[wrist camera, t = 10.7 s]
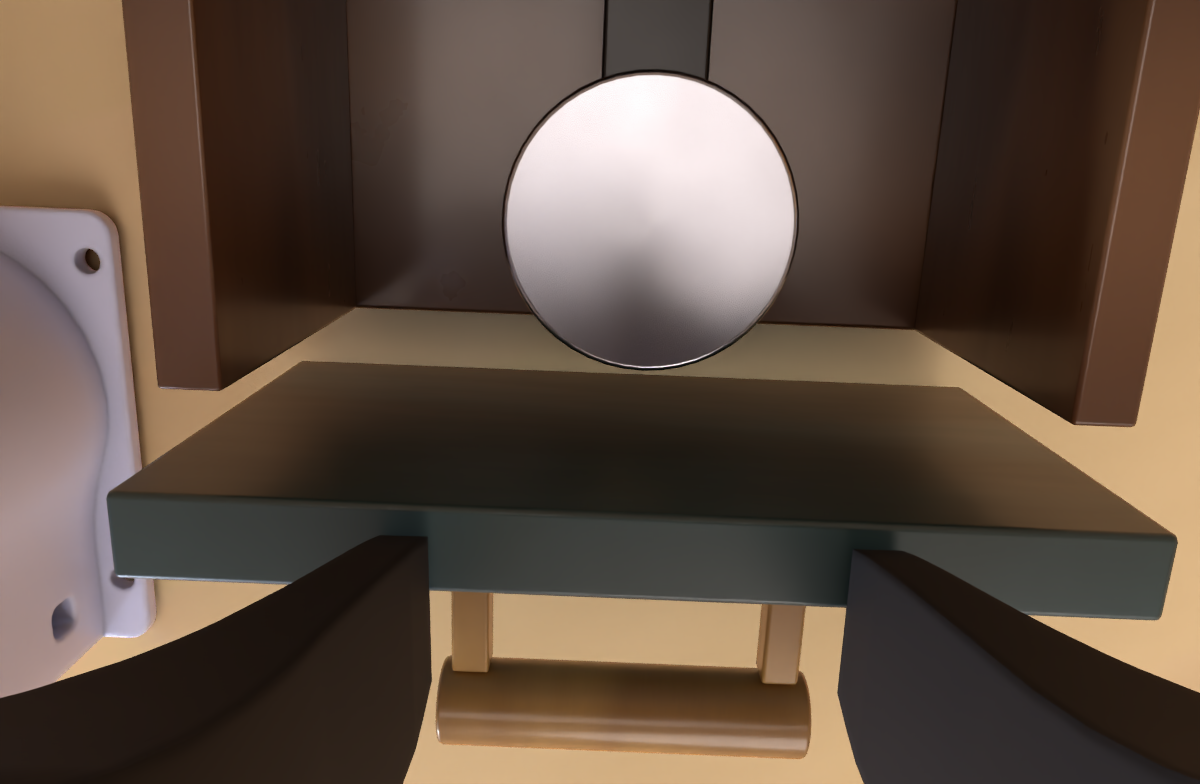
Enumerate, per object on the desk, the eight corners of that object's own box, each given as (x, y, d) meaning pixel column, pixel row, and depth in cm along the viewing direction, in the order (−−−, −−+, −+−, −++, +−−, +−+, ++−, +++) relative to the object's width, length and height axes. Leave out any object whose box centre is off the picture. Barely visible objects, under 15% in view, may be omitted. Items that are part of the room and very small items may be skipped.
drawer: (926, 621, 20) (1104, 888, 12) (312, 596, 20) (142, 847, 13) (1077, -400, 15) (1507, -909, 8) (259, -431, 15) (-64, -963, 8)
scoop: (735, 311, 17) (785, 377, 12) (531, 303, 17) (499, 366, 12) (765, -57, 15) (836, -153, 10) (539, -65, 15) (503, -166, 10)
